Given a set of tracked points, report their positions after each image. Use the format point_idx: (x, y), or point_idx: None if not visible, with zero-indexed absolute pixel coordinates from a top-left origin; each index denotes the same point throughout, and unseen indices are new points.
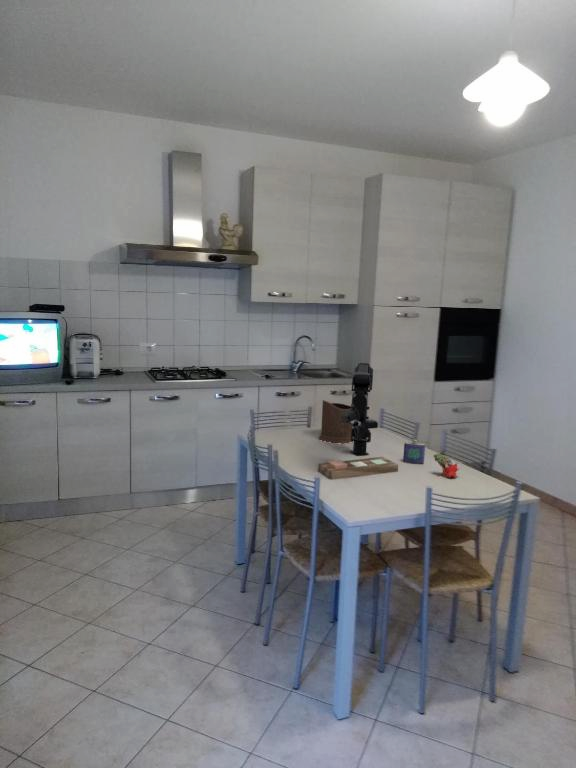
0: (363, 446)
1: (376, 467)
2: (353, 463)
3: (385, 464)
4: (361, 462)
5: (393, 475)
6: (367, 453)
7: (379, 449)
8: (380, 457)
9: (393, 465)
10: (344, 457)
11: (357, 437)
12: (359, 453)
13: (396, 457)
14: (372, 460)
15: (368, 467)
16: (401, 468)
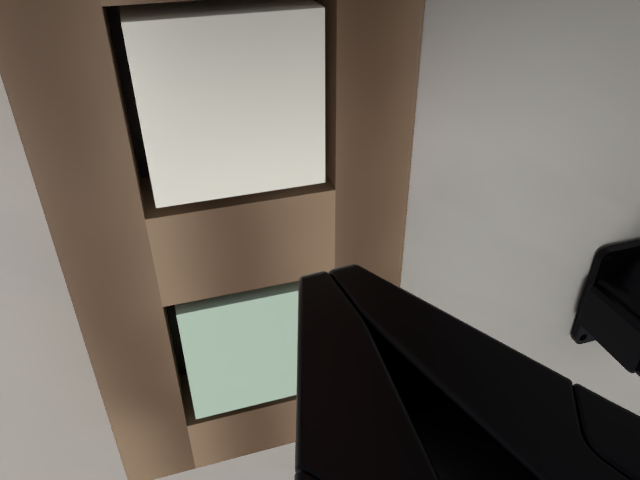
0: (635, 346)
1: (66, 279)
2: (275, 48)
3: (156, 390)
4: (285, 173)
5: (10, 374)
6: (585, 336)
7: None
8: None
9: (118, 446)
10: (634, 129)
11: (339, 327)
12: (608, 279)
13: None
14: None
15: (65, 183)
16: None
